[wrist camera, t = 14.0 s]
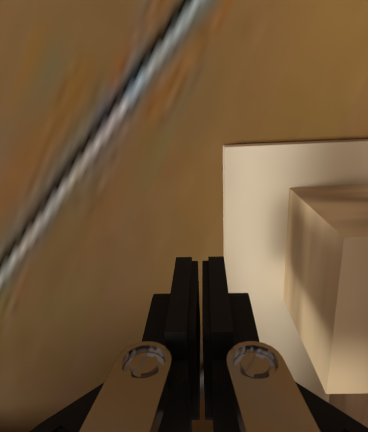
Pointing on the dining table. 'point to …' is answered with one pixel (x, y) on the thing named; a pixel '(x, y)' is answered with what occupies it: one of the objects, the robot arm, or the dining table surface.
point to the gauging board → (277, 229)
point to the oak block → (330, 281)
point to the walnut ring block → (352, 405)
